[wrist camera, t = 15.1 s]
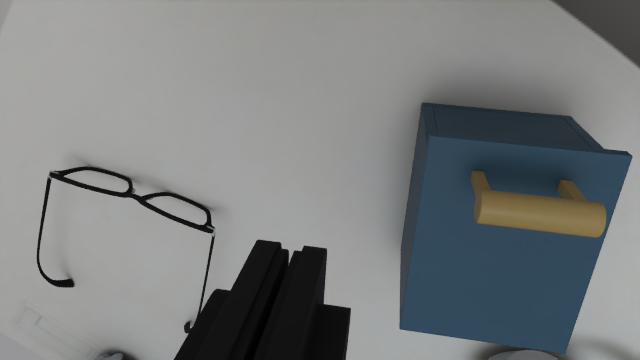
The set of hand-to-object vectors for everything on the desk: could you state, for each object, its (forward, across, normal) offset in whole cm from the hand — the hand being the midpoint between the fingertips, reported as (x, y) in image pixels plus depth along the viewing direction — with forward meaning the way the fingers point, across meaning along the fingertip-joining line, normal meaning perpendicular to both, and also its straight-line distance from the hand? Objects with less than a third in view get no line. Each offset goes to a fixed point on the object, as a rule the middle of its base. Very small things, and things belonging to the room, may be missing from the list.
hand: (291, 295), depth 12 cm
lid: (+19, -10, +9) cm, 23 cm away
